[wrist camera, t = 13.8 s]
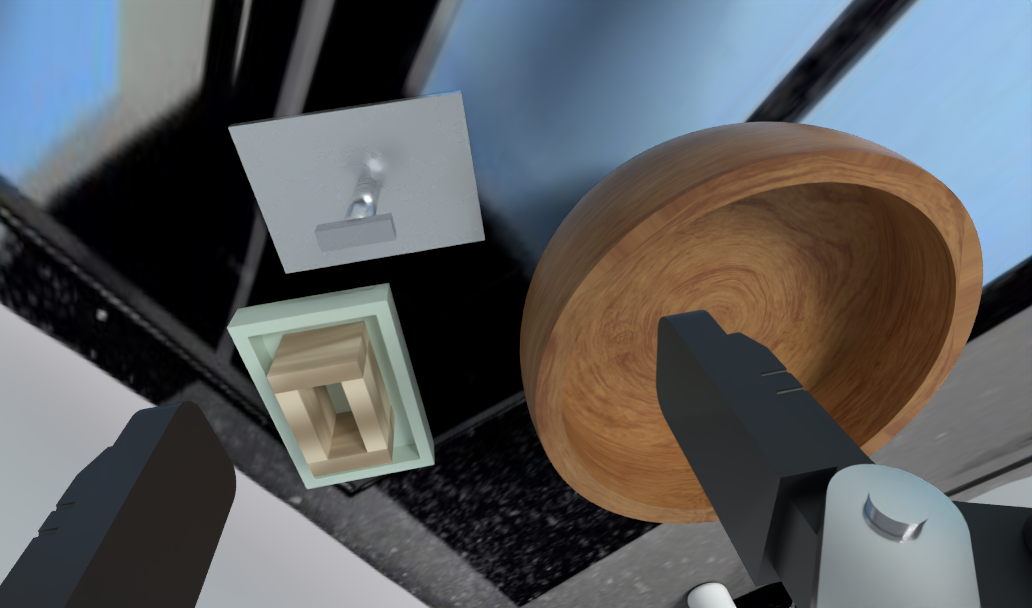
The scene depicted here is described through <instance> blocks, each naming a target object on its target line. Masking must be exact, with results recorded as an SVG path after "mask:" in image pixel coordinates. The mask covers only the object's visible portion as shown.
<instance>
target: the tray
mask: <svg viewBox="0 0 1032 608" xmlns="http://www.w3.org/2000/svg"><path fill="white" fill-rule="evenodd" d="M359 321H364V322H365V325H366V328H367V331H368V334H369V337H370V341H371V344H372V347H373V350H374V353H375V356H376V359H377V362H378V366H379V369H380V372H381V375H382V378H383V381H384V384H385V387H386V391H387V394H388V397H389V400H390V403H391V406H392V409H393V412H394V415H395V425H394V440H393V455H392V462H390V463H385V464H380V465H374V466H369V467H364V468H359V469H353V470H348V471H343V472H338V473H332V474H327V475H322V476H317V477H314V476H313V474H312V472H311V470H310V468H309V466H308V464H307V462H306V459H305V457H304V455H303V453H302V451H301V449H300V447H299V445H298V442H297V440H296V438H295V436H294V434H293V432H292V430H291V428H290V426H289V423H288V421H287V419H286V417H285V415H284V413H283V411H282V409H281V406H280V404H279V402H278V400H277V398H276V396H275V394H274V392H273V390H272V387H271V385H270V383H269V381H268V379H267V375H268V373H269V370H270V367H271V365H272V362H273V360H274V357H275V355H276V352H277V350H278V347H279V344H280V342H281V339H282V337H283V335H284V334H290V333H295V332H301V331H307V330H313V329H318V328H324V327H330V326H336V325H342V324H347V323H353V322H359ZM227 329H228V331H229V333H230V335H231V337H232V339H233V341H234V343H235V345H236V347H237V349H238V351H239V353H240V355H241V357H242V359H243V361H244V363H245V365H246V367H247V369H248V371H249V373H250V375H251V378H252V380H253V382H254V384H255V386H256V388H257V390H258V392H259V394H260V396H261V398H262V400H263V402H264V404H265V406H266V408H267V410H268V412H269V414H270V416H271V418H272V420H273V422H274V424H275V426H276V428H277V430H278V432H279V434H280V436H281V438H282V440H283V442H284V444H285V446H286V448H287V450H288V452H289V454H290V456H291V458H292V460H293V462H294V464H295V466H296V468H297V470H298V472H299V474H300V476H301V478H302V480H303V482H304V484H305V486H306V488H307V489H311V488H316V487H321V486H326V485H331V484H337V483H342V482H347V481H352V480H357V479H362V478H368V477H373V476H378V475H383V474H388V473H393V472H399V471H404V470H409V469H414V468H419V467H424V466H430V465H434V442H433V438H432V435H431V431H430V428H429V424H428V421H427V417H426V413H425V410H424V406H423V403H422V399H421V396H420V392H419V389H418V385H417V381H416V378H415V374H414V371H413V367H412V364H411V360H410V356H409V353H408V349H407V346H406V342H405V339H404V335H403V332H402V328H401V324H400V321H399V317H398V314H397V310H396V307H395V303H394V300H393V296H392V292H391V289H390V285H389V283H385V284H379V285H374V286H368V287H362V288H356V289H350V290H344V291H339V292H333V293H327V294H321V295H315V296H309V297H303V298H298V299H292V300H286V301H280V302H274V303H268V304H263V305H257V306H251V307H245V308H239V309H237V311H236V313H235V314H234V316H233V318H232V320H231V322H230V323H229V325H228V327H227ZM325 386H326V388H327V391H328V393H329V396H330V398H331V401H332V403H333V406H334V408H335V411H336V413H337V414H339V413H345V412H350V411H352V410H351V407H350V404H349V402H348V399H347V397H346V394H345V391H344V389H343V386H342V383H341V382H339V383H333V384H328V385H325Z"/></svg>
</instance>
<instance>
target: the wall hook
mask: <svg viewBox="0 0 1032 608" xmlns="http://www.w3.org/2000/svg"><path fill="white" fill-rule="evenodd" d="M228 129H229V131H230V134H231V136H232V139H233V141H234V144H235V146H236V149H237V151H238V154H239V156H240V159H241V161H242V164H243V167H244V169H245V172H246V174H247V177H248V179H249V182H250V184H251V187H252V189H253V192H254V194H255V197H256V199H257V202H258V204H259V207H260V209H261V212H262V214H263V217H264V219H265V222H266V224H267V227H268V230H269V232H270V235H271V237H272V240H273V242H274V245H275V247H276V250H277V252H278V255H279V257H280V260H281V262H282V265H283V267H284V270H285V272H286V273H292V272H298V271H304V270H310V269H316V268H322V267H328V266H334V265H340V264H346V263H352V262H358V261H364V260H370V259H376V258H382V257H388V256H393V255H399V254H405V253H411V252H417V251H423V250H429V249H435V248H441V247H447V246H453V245H459V244H465V243H471V242H477V241H483V240H485V236H484V230H483V224H482V217H481V211H480V205H479V199H478V192H477V186H476V180H475V174H474V168H473V161H472V155H471V149H470V143H469V136H468V130H467V124H466V118H465V111H464V105H463V99H462V93H461V90H457V91H450V92H443V93H437V94H430V95H423V96H417V97H410V98H403V99H397V100H390V101H383V102H377V103H370V104H363V105H357V106H350V107H343V108H337V109H330V110H323V111H317V112H310V113H303V114H297V115H290V116H283V117H277V118H270V119H263V120H257V121H250V122H243V123H237V124H232V125H230V126H229V127H228Z"/></svg>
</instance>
